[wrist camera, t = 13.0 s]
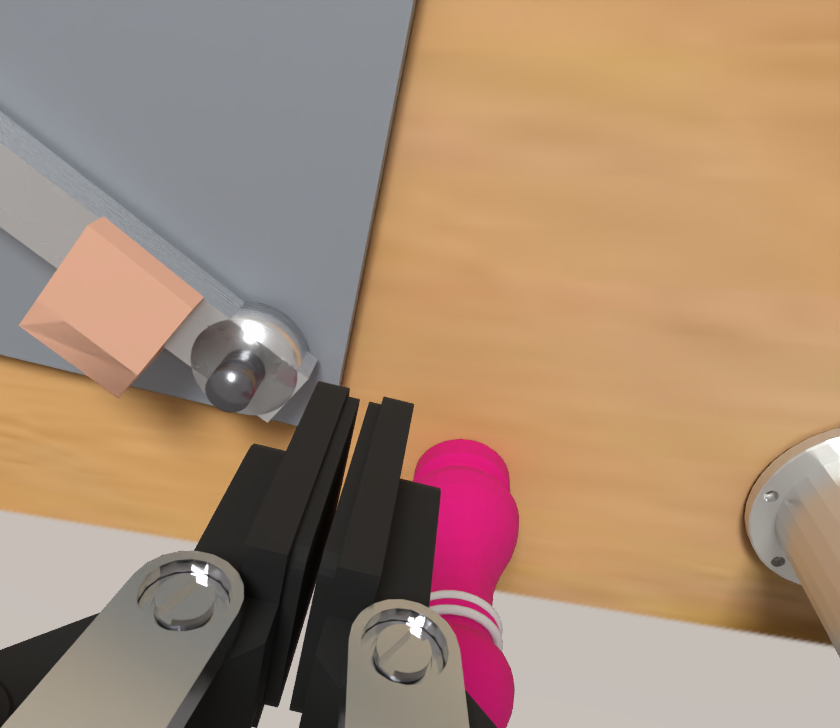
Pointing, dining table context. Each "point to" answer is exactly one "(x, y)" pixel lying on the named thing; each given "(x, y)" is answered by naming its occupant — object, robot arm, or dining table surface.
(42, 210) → the steel link
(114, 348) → the block
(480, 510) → the pepper mill
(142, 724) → the robot arm
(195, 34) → the slate board
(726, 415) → the dining table surface
